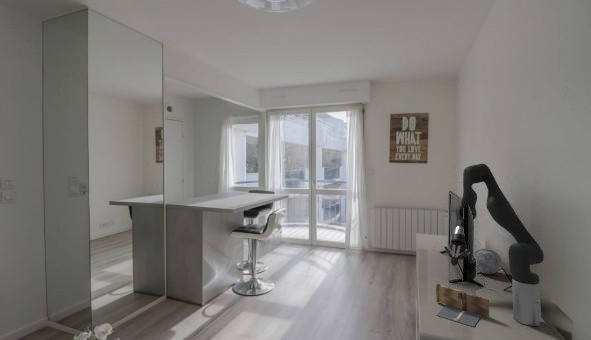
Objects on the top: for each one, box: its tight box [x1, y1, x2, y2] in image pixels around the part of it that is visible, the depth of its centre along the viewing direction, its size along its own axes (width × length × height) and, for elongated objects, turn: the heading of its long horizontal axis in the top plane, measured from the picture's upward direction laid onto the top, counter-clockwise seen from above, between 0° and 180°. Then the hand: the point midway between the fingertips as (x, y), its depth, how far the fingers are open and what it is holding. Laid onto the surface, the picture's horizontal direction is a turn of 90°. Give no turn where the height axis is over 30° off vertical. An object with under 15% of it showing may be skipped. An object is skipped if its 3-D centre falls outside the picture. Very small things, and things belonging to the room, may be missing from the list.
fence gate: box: [435, 283, 462, 308], centre depth 142 cm, size 11×2×9 cm, turn 46°
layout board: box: [436, 304, 483, 328], centre depth 135 cm, size 15×17×1 cm
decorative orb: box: [473, 248, 502, 275], centre depth 181 cm, size 15×14×15 cm
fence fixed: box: [461, 291, 490, 319], centre depth 135 cm, size 11×2×8 cm, turn 46°
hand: (453, 264), depth 156 cm, fingers closed
